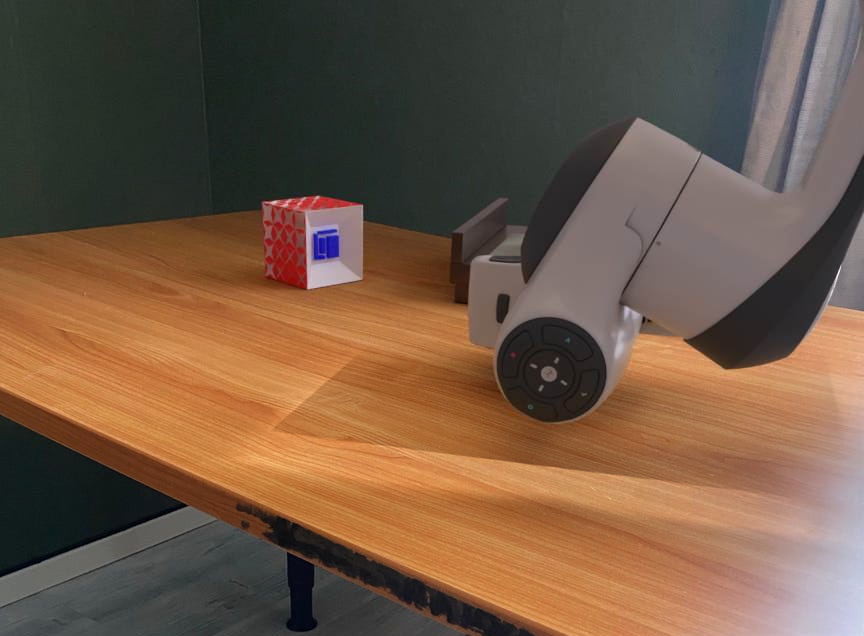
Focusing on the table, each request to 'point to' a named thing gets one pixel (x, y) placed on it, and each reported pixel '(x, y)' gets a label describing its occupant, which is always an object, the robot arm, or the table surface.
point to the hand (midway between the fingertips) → (603, 273)
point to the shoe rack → (482, 243)
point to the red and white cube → (313, 241)
